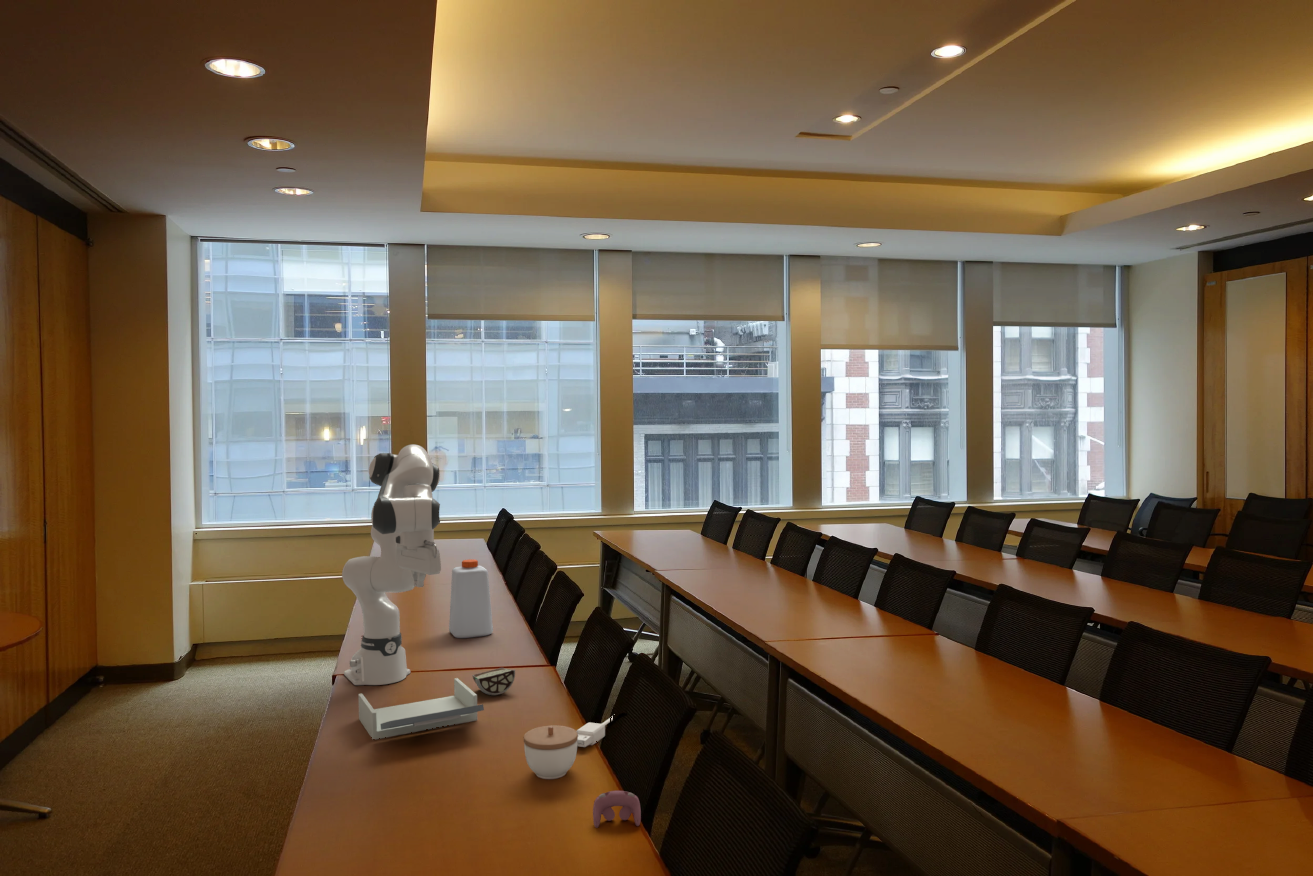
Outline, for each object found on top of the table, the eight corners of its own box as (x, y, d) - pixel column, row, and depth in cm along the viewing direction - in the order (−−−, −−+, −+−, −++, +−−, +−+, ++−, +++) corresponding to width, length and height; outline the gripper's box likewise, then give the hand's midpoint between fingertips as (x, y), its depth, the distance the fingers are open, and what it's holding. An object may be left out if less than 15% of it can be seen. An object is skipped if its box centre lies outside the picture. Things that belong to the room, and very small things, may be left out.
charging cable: (636, 713, 251) (636, 702, 251) (586, 750, 220) (586, 737, 220) (620, 711, 252) (620, 700, 252) (568, 748, 222) (568, 734, 222)
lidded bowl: (528, 787, 200) (527, 739, 199) (520, 766, 212) (520, 720, 212) (583, 780, 203) (582, 732, 203) (572, 759, 215) (572, 714, 215)
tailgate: (380, 724, 231) (390, 721, 221) (470, 707, 242) (483, 704, 232) (381, 733, 230) (391, 730, 220) (471, 716, 242) (484, 713, 232)
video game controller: (640, 826, 184) (639, 790, 187) (641, 826, 180) (640, 789, 183) (593, 828, 183) (593, 792, 186) (592, 827, 179) (592, 790, 182)
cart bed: (358, 719, 245) (358, 694, 245) (457, 701, 259) (457, 678, 259) (372, 739, 230) (372, 713, 229) (477, 720, 243) (477, 695, 243)
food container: (470, 696, 269) (480, 700, 260) (467, 676, 269) (477, 679, 261) (509, 686, 275) (519, 690, 266) (505, 666, 275) (516, 669, 267)
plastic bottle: (447, 631, 343) (445, 559, 342) (485, 626, 349) (484, 556, 348) (455, 640, 329) (454, 565, 328) (495, 635, 335) (494, 562, 334)
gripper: (446, 541, 251) (446, 589, 252) (411, 535, 266) (411, 580, 266) (426, 543, 247) (426, 592, 247) (391, 537, 262) (392, 583, 262)
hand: (418, 586), depth 257 cm, fingers closed
